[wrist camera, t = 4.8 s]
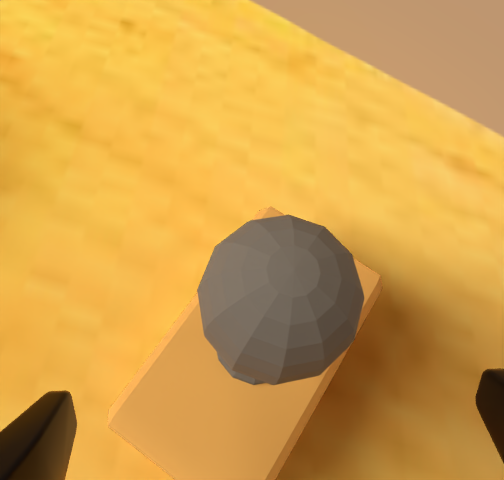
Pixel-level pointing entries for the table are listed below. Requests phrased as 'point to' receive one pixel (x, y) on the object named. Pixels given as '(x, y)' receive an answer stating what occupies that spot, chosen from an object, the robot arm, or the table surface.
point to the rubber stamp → (248, 353)
